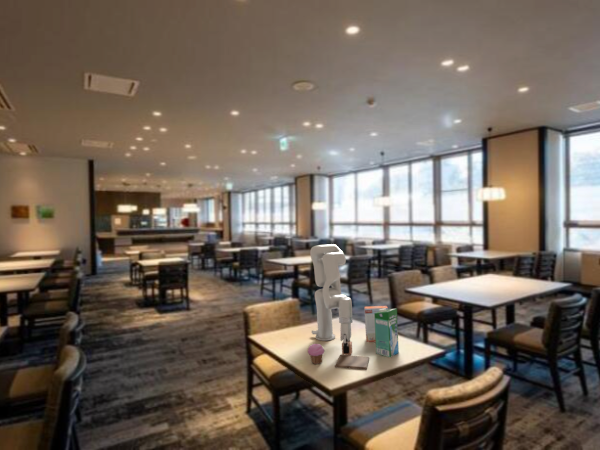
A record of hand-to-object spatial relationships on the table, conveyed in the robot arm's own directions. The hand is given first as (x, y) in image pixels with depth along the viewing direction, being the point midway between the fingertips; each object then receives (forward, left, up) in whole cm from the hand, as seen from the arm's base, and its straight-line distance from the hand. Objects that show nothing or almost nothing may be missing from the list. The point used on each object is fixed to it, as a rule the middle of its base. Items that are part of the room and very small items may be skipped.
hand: (347, 351), depth 203 cm
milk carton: (+22, +4, -2) cm, 22 cm away
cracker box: (+15, +24, -2) cm, 28 cm away
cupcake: (-14, -16, -2) cm, 21 cm away
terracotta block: (0, 0, -1) cm, 1 cm away
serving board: (+5, -13, -1) cm, 14 cm away
